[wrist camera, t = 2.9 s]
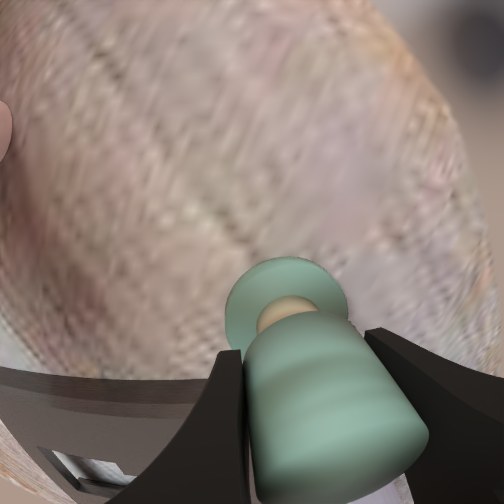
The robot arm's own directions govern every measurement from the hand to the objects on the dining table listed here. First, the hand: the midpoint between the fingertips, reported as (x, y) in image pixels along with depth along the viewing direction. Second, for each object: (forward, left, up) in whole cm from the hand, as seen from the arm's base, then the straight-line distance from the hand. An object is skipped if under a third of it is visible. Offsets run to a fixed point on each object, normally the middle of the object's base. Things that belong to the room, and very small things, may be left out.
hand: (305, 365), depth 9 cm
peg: (0, 0, -4) cm, 4 cm away
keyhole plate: (-12, +9, -4) cm, 16 cm away
